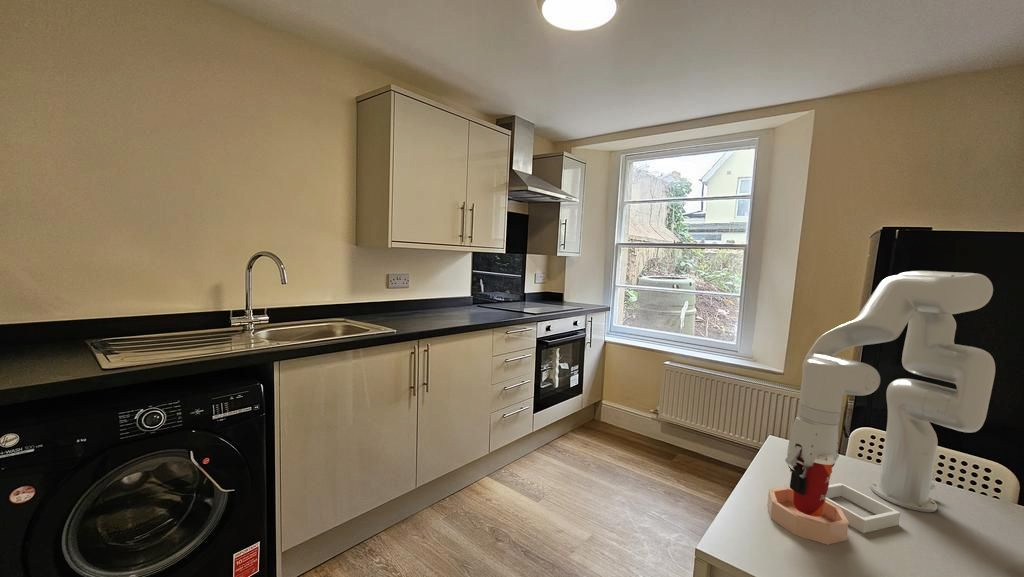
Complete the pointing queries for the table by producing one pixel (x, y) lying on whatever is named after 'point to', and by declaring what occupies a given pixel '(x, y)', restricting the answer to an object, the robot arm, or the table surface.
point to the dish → (807, 518)
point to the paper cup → (814, 486)
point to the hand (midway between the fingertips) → (808, 489)
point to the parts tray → (883, 513)
